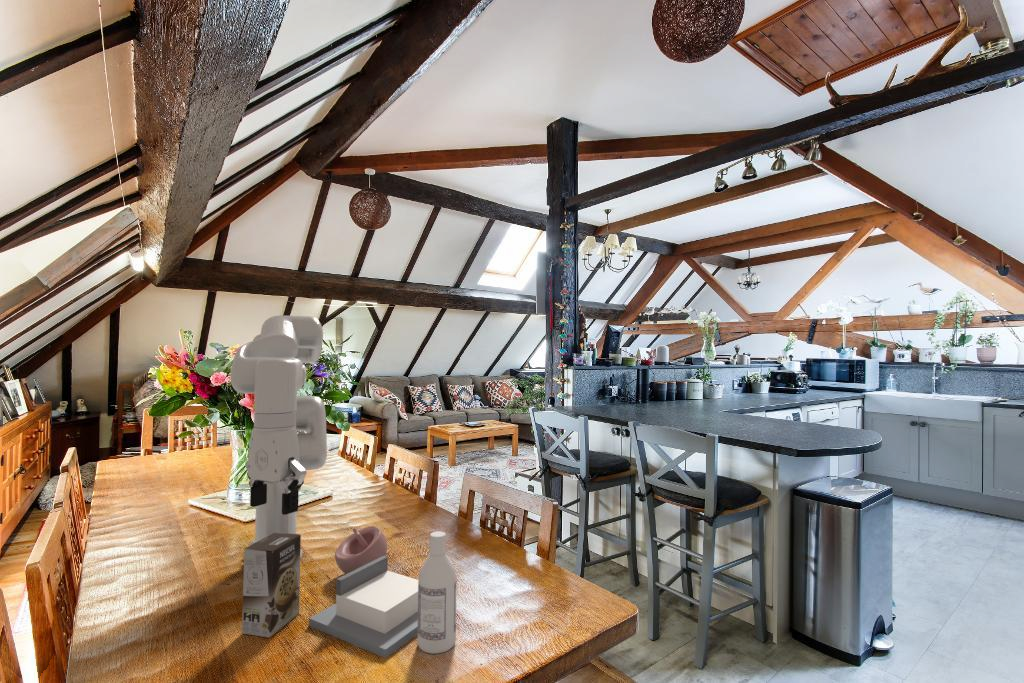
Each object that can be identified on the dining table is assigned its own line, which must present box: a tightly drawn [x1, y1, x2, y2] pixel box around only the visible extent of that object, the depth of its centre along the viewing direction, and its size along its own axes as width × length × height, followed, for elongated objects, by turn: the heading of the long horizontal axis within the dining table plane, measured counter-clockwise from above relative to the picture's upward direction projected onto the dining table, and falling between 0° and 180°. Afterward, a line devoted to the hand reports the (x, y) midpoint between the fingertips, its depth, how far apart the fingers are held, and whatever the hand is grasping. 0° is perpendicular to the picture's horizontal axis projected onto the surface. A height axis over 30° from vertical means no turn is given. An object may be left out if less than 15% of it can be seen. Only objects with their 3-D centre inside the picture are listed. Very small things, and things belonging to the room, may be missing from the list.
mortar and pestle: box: [334, 525, 388, 575], centre depth 119 cm, size 12×12×12 cm
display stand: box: [308, 555, 419, 659], centre depth 101 cm, size 20×20×8 cm
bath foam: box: [417, 530, 458, 655], centre depth 92 cm, size 7×7×20 cm
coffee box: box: [241, 533, 302, 638], centre depth 98 cm, size 9×6×16 cm
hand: (273, 508), depth 98 cm, fingers open, 9 cm apart
